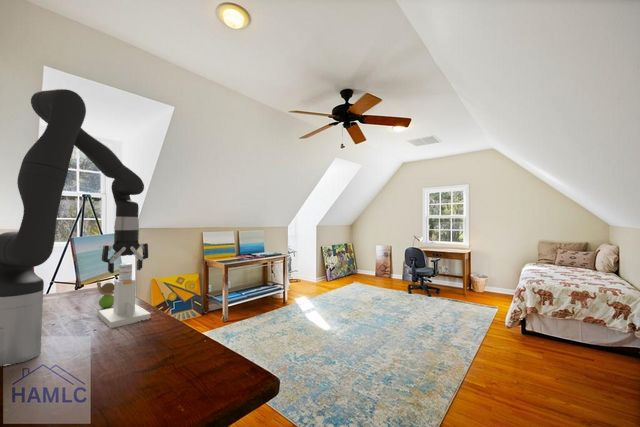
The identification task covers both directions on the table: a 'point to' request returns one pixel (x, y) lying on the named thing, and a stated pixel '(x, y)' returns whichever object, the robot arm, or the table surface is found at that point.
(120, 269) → the steel bar
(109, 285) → the snail figurine
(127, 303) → the grey stand
